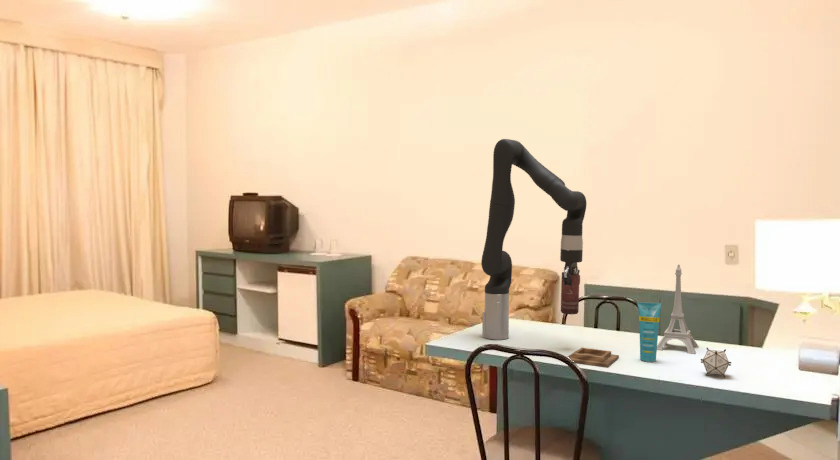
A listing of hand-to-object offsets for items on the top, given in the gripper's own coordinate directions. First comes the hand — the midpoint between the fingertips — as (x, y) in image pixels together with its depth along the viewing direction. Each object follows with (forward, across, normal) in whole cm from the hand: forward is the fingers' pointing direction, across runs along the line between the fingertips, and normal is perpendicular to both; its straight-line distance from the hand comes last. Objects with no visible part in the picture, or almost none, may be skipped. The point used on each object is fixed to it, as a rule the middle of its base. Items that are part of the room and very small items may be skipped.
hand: (570, 297), depth 223 cm
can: (+6, 0, 0) cm, 6 cm away
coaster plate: (+18, +11, +11) cm, 24 cm away
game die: (+18, +10, +48) cm, 53 cm away
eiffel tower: (+18, -22, +32) cm, 43 cm away
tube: (+18, +2, +27) cm, 33 cm away
